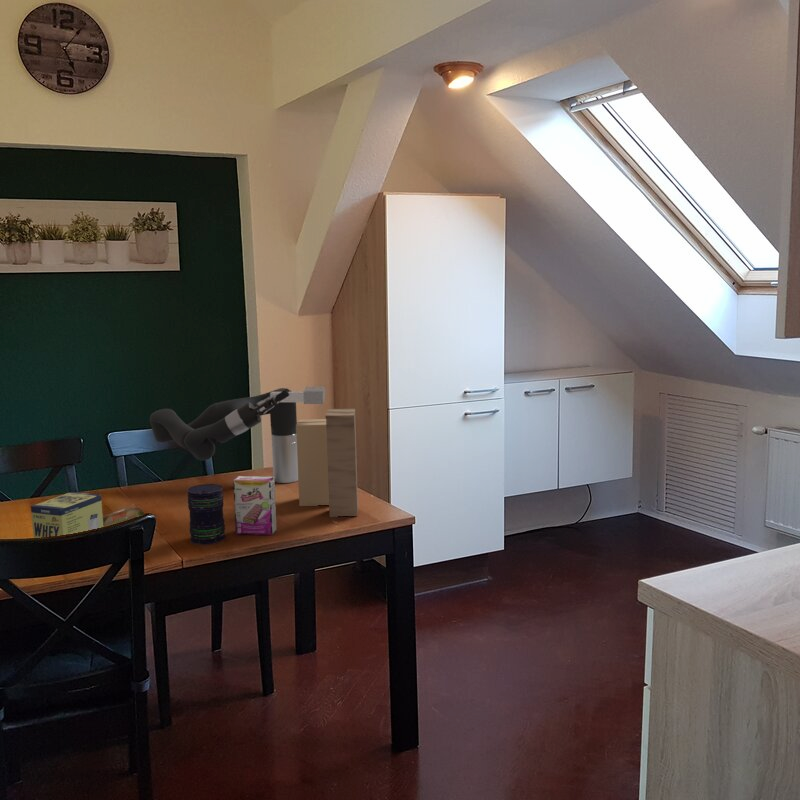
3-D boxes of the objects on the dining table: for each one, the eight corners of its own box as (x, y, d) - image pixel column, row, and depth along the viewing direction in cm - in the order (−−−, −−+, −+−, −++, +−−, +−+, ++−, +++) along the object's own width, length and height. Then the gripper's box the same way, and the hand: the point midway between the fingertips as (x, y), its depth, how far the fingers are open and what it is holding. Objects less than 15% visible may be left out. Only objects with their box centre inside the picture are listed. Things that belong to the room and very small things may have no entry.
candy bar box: (235, 535, 241) (232, 479, 239) (240, 529, 246) (237, 475, 244) (273, 535, 240) (270, 480, 238) (277, 530, 245) (274, 475, 243)
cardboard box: (302, 497, 279) (299, 419, 275) (338, 496, 279) (335, 418, 275) (299, 506, 269) (296, 425, 265) (336, 505, 269) (333, 424, 265)
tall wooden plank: (331, 508, 266) (328, 409, 261) (358, 507, 267) (355, 408, 261) (329, 519, 255) (325, 415, 249) (357, 518, 255) (354, 415, 250)
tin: (105, 547, 234) (102, 518, 232) (97, 545, 235) (95, 516, 234) (147, 532, 246) (145, 504, 245) (139, 530, 248) (137, 503, 246)
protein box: (34, 562, 222) (29, 505, 220) (77, 544, 237) (72, 490, 234) (65, 566, 219) (60, 509, 216) (106, 547, 233) (102, 493, 230)
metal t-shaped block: (273, 399, 273) (272, 387, 273) (325, 398, 274) (324, 386, 273) (268, 404, 263) (268, 391, 263) (322, 403, 264) (322, 391, 263)
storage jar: (193, 534, 243) (190, 484, 240) (227, 533, 243) (224, 483, 241) (187, 546, 233) (184, 494, 230) (223, 544, 234) (220, 492, 231)
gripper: (252, 424, 277) (296, 398, 275) (245, 433, 263) (292, 405, 262) (240, 405, 276) (284, 378, 274) (232, 413, 262) (279, 384, 261)
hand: (288, 391), depth 268 cm, fingers closed on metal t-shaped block, 3 cm apart
